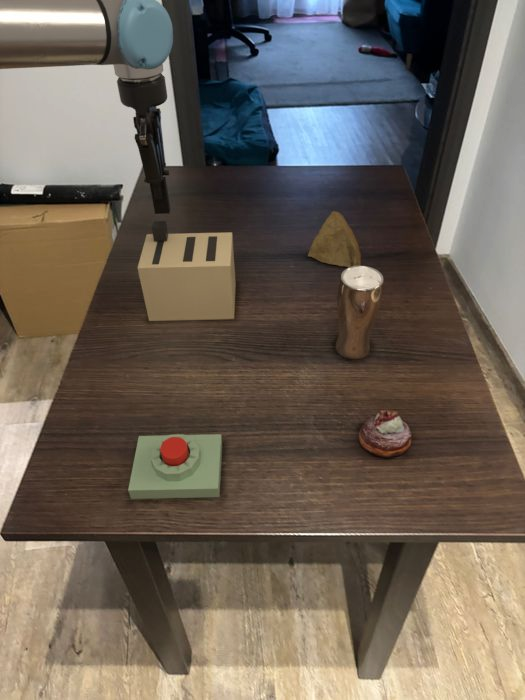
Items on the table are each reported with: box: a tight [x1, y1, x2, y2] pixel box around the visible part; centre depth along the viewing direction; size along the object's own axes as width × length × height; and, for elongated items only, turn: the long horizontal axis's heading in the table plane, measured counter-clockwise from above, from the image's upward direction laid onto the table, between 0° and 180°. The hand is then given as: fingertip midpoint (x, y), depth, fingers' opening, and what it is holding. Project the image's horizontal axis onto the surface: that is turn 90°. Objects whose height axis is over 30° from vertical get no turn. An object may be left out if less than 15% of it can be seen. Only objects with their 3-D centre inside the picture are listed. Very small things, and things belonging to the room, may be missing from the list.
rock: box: [307, 210, 362, 268], centre depth 109 cm, size 11×9×10 cm
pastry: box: [358, 409, 413, 459], centre depth 76 cm, size 8×8×5 cm
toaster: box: [137, 231, 236, 322], centre depth 98 cm, size 16×11×12 cm
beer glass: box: [334, 265, 384, 360], centre depth 87 cm, size 7×7×15 cm
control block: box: [127, 433, 223, 500], centre depth 73 cm, size 12×9×4 cm
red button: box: [160, 437, 188, 466], centre depth 71 cm, size 4×4×2 cm
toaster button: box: [150, 220, 169, 241], centre depth 96 cm, size 2×2×3 cm
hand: (162, 211), depth 99 cm, fingers closed
